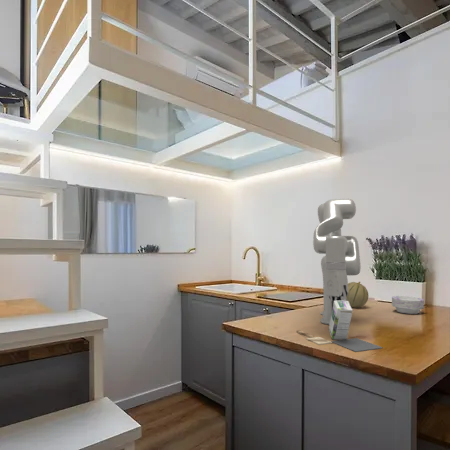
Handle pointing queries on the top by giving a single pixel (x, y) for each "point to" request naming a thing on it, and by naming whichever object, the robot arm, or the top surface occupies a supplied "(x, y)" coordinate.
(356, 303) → the cantaloupe
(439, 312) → the top surface
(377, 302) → the top surface
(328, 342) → the turner
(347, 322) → the syrup box
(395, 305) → the paper bowls
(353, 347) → the mat
